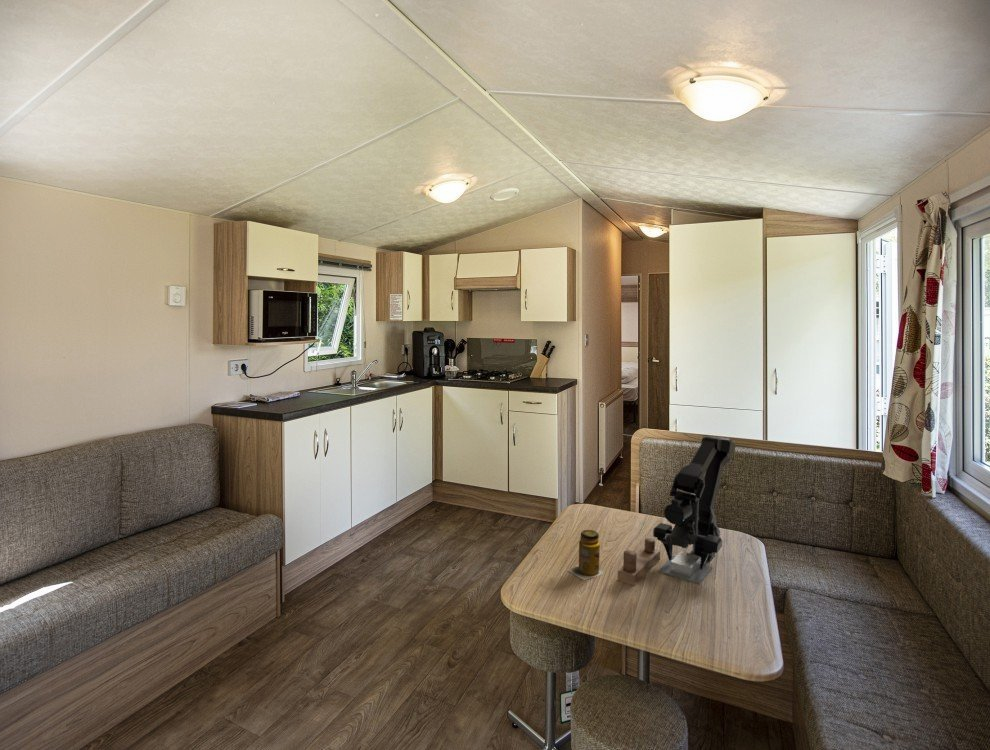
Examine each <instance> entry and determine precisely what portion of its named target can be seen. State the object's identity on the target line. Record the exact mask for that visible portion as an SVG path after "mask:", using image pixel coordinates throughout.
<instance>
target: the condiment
mask: <svg viewBox="0 0 990 750" xmlns="http://www.w3.org/2000/svg"><path fill="white" fill-rule="evenodd" d="M599 537H600V536H599V532H598V531H596V530H592V529H586V530H585V529H583V530H581V532H580V539H579V544H578V566H575V567H573V568H569V569H567V571H569V572H570V573H571V574H572V575H575V576H576V577H577V578H579V579H581V580H583V581H586V580H589V579H592V578H595V577H599V576H601V575H604V574H606V572H605V571H604V570H601V569H600V558H601V557H600V551H601V546H600V545H601V544H600V539H599Z"/></svg>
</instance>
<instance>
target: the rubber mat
mask: <svg viewBox="0 0 990 750" xmlns="http://www.w3.org/2000/svg"><path fill="white" fill-rule="evenodd" d="M675 557H676V555H675V556H674V555H672V560H673V559H674V558H675ZM672 560H671V561H672ZM671 561H670V560H669V559H668V560H667V561H665V563H664V564H663V565H662V566H661V567H660V568H659V569H658V573H660V574H662V575H663V574H664V575H667V576H671V577H674V578H677V579H680V580H683V581H687V582H691V583H693V584H697V585H701V584H702V583H703V581H705V579H706V577H707V576H708V574H710V572H711V570H712V569H713V567H712V566H709V565H707V564H704V567H703V569H702V570H701V569H700V567H699V568H698V569H697V571H696V572H695V573H694V574H693V576H692V577H691V578H690V577H687V576H684V575H680V574H677V573H674V572H670V566H671Z"/></svg>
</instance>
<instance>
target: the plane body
mask: <svg viewBox="0 0 990 750" xmlns="http://www.w3.org/2000/svg"><path fill="white" fill-rule="evenodd" d="M655 547H656V540H655V539H653V538H649V537H647V538H645V539H644V547H642V548H641V549H640V550H639V551H638V552H636V551H634V550H631V549H630V550H629V549H628V550H624V551H623V565H622V566H621V567H620V568H619V569H617V581H619V582H622V583H625V584H628V585H631V586H635V585H636V584H637V583H639V581H640V580H642V578H643V577H644V576H646V575H647V574H648V572H649V571H650V570H652V569H653V568H654V567H655V566H656V564H658V563H659V561H661V550H659V549H656V548H655Z"/></svg>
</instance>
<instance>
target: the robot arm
mask: <svg viewBox="0 0 990 750" xmlns="http://www.w3.org/2000/svg"><path fill="white" fill-rule="evenodd" d="M700 443H701V444H700V446H698V449H697V450H696V453H695V455H694V456H693V458H692V459H691V461H690V462H689V463H688V465H684V466H683V467H681V468H680V470H679V472H678V473H676V475H675V476H674V480H673V483H672V486H671V489H670V492H669V496H670V497H674V498H672V499H671V502H670V503H669V504H668V505H666V507H665V508H664V511H663V512H664V513H663V514H664V517H665V519H666V521H667V522H669V523H670V524H667V523H663V522H660V523H659V524H657V525H656V526H655V527H653V530H652V536H653V537H654V538H656V539H657V540H658V541H660V542H661V543H662V545H663V546H664V549H665V552H666V556H667V558H668V560H670V561H671V560H672V556H673V546H676V547H680V548H682V549H687V548H689V545H690V546H691V545H692V550H691V551H690V552H689V553H690V554H693V555H697V556H701V563H700V569H701V570H702V569H703V567H704V565H706V562H711V561H712V559H714V558H715V556H716V554H717V553H718V552H719V551H720V550H721V549H722V547H723V539H722V538H721V537H720V535H721V534H720V533H721V531H720V528H719V527H718V525H717V521H718V520H717V517H716V513H715V510H714V509H715V505H716V501H717V500H716V499H717V496H718V492H719V487H720V483H721V478H722V475H723V472H724V467H725V466H726V465H727V464H728V463H729V462H731V459H732V456H733V454H734V453H735V450H736V444H735V442H733V440H732V439H731V438H726V437H722V436H721V437H720V436H713V435H712V436H708V435H706V436H703V437H702V438H701V442H700ZM671 524H673V525H674V526H672V525H671Z"/></svg>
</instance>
